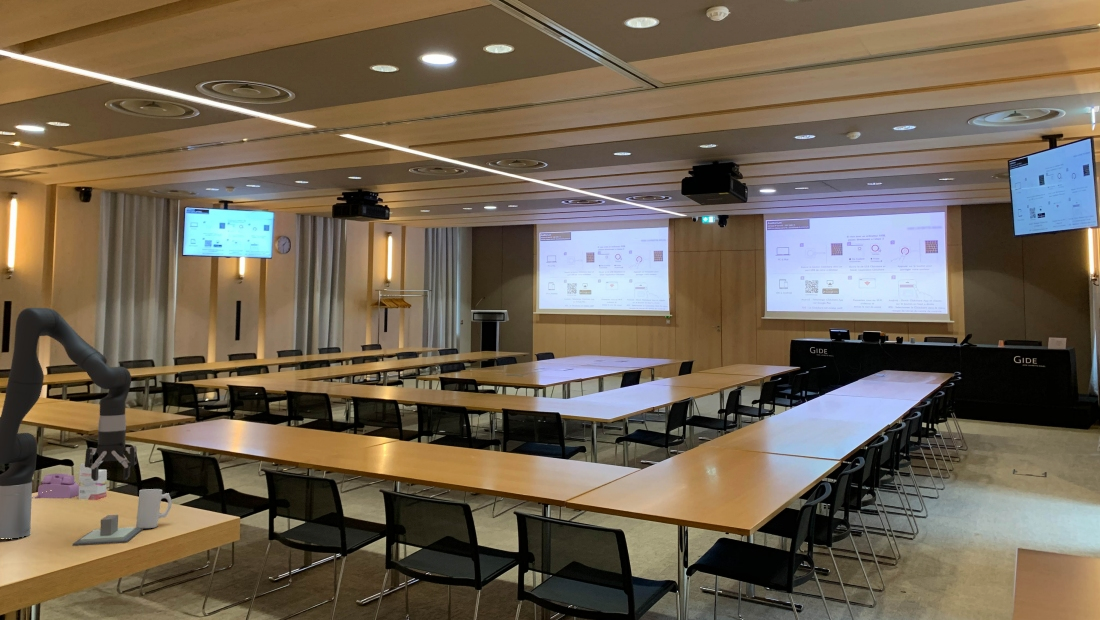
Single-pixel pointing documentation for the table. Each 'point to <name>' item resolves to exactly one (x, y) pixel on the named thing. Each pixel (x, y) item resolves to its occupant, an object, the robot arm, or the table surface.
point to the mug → (151, 507)
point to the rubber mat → (109, 540)
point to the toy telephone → (58, 486)
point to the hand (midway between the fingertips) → (110, 479)
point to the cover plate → (111, 537)
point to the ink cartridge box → (91, 484)
